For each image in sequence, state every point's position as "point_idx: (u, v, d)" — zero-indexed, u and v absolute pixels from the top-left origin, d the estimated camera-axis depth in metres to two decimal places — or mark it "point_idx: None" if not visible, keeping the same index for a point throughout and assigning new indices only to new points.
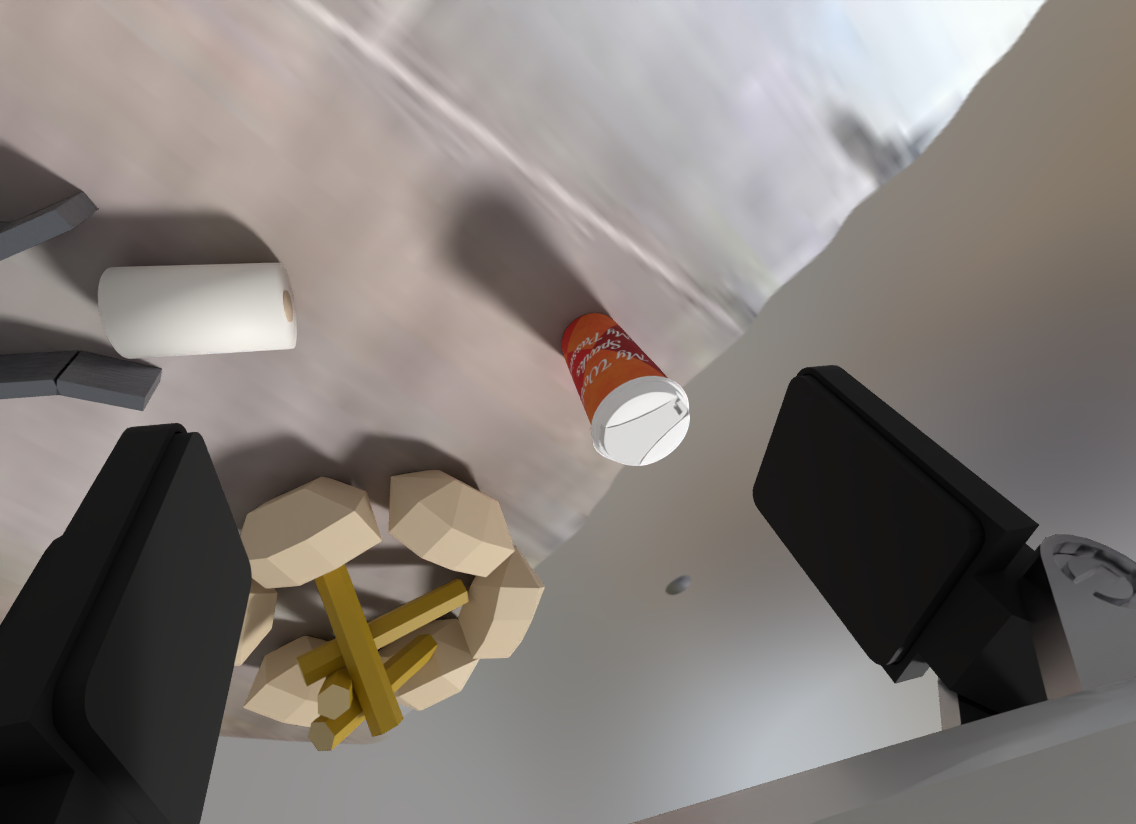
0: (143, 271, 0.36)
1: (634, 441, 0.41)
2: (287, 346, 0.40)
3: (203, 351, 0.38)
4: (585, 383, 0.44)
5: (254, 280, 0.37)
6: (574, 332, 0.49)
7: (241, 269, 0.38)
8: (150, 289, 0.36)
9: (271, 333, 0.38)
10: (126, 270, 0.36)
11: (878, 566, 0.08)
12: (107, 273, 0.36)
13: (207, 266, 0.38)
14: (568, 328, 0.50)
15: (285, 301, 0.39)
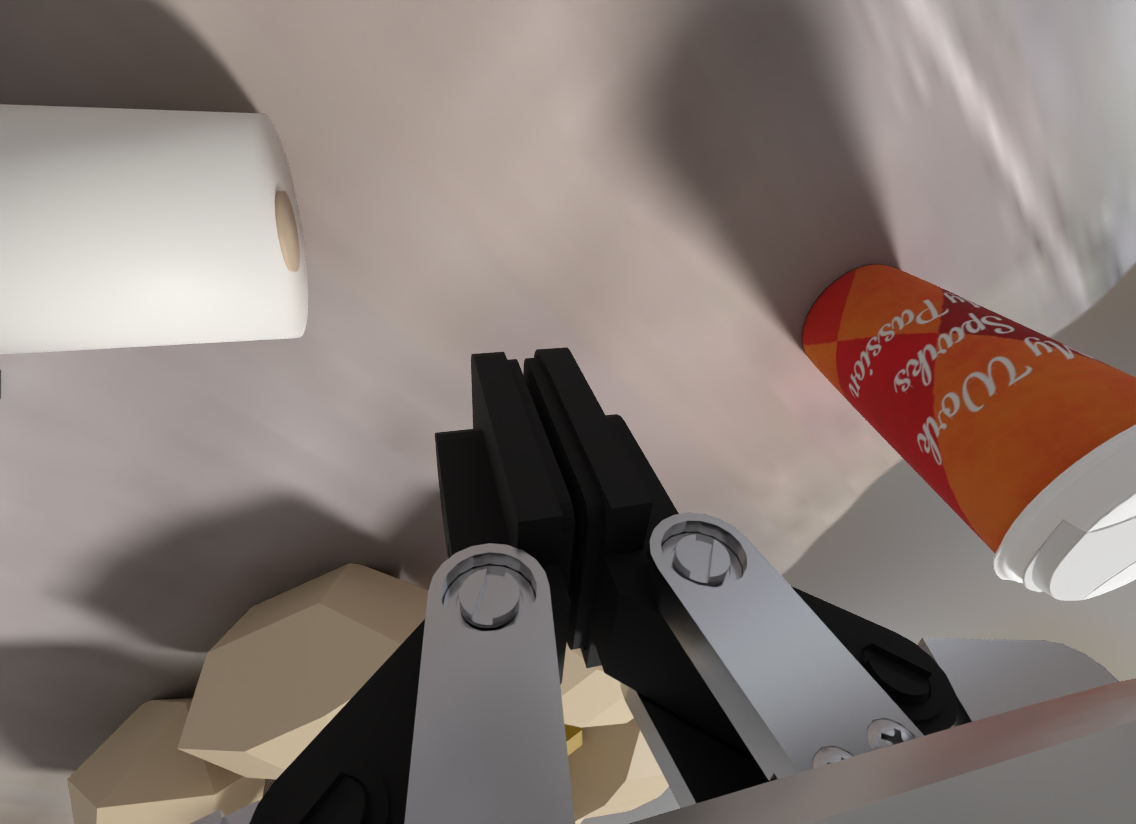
0: None
1: (1112, 556, 0.17)
2: (290, 335, 0.16)
3: (72, 347, 0.15)
4: (948, 409, 0.20)
5: (193, 157, 0.13)
6: (854, 299, 0.25)
7: (154, 125, 0.13)
8: None
9: (248, 308, 0.14)
10: None
11: None
12: None
13: (56, 110, 0.13)
14: (829, 293, 0.26)
15: (281, 220, 0.15)
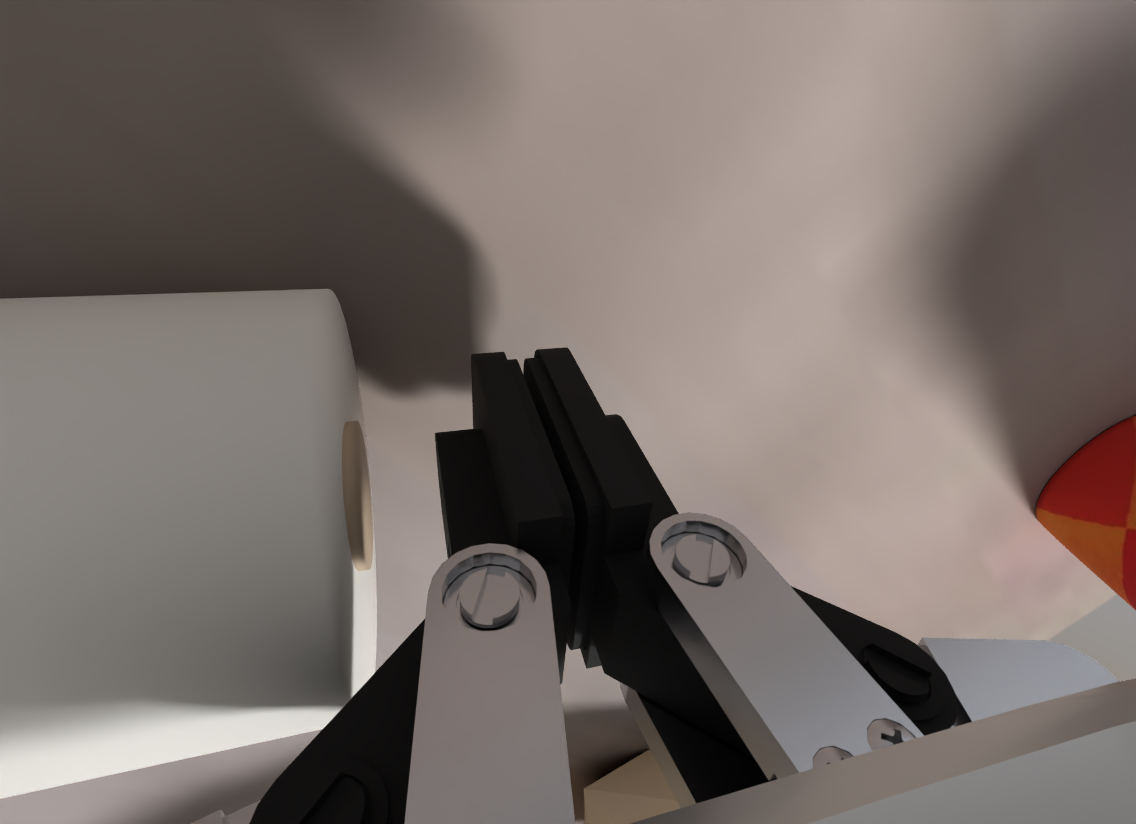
0: None
1: None
2: None
3: None
4: None
5: (171, 419, 0.05)
6: None
7: (89, 344, 0.06)
8: None
9: (282, 724, 0.06)
10: None
11: None
12: None
13: None
14: (1096, 452, 0.19)
15: (354, 494, 0.07)
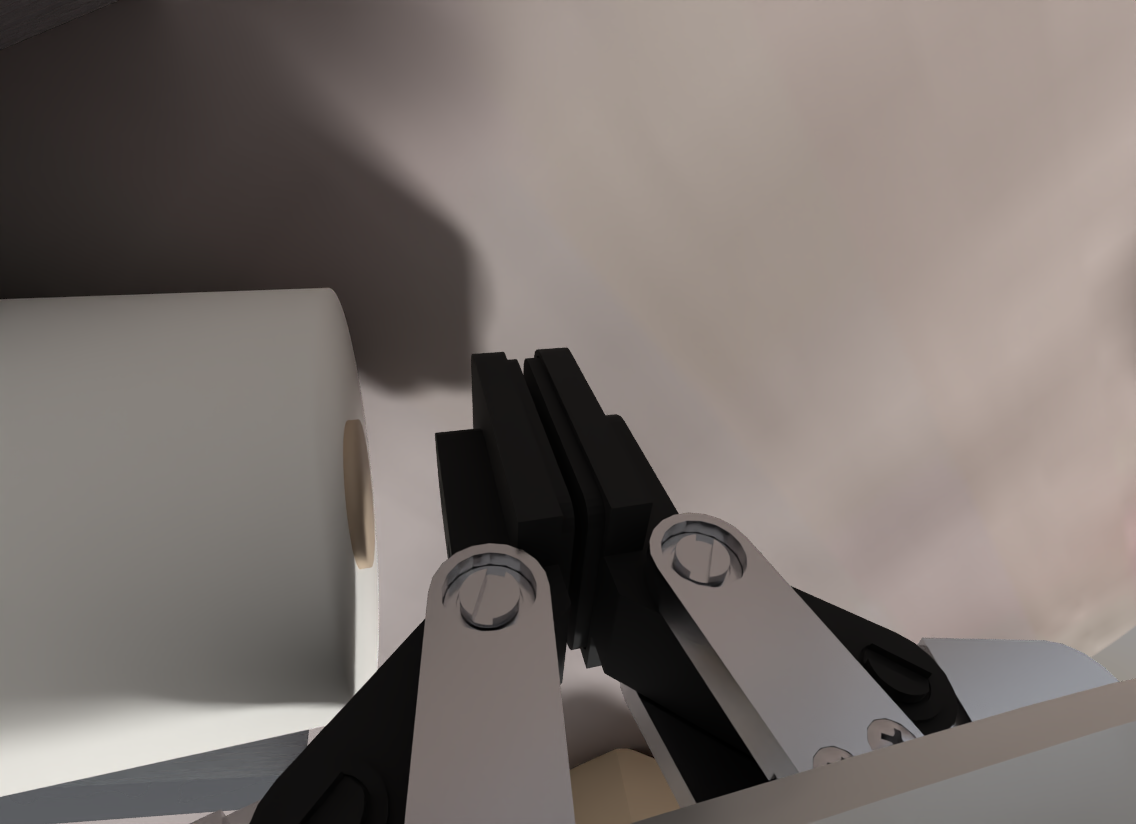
0: None
1: None
2: None
3: None
4: None
5: (174, 418, 0.05)
6: None
7: (92, 343, 0.06)
8: None
9: (285, 721, 0.06)
10: None
11: None
12: None
13: None
14: None
15: (356, 492, 0.08)
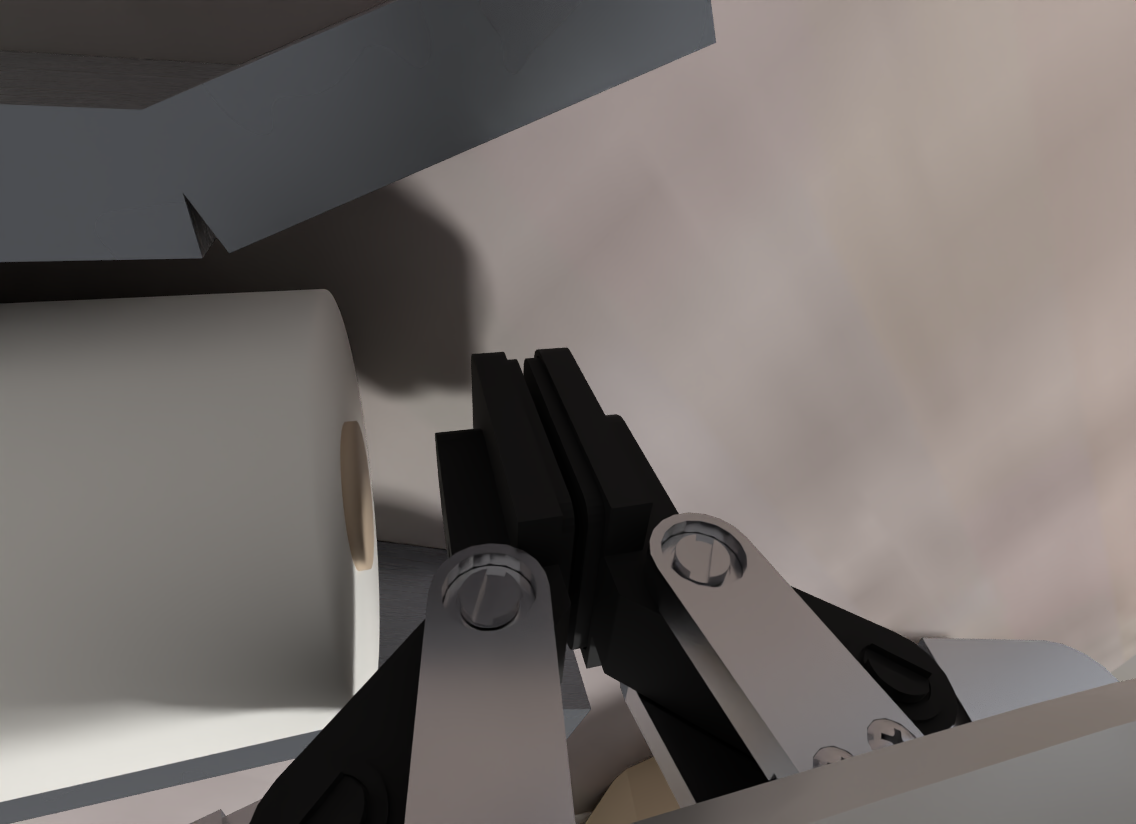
0: None
1: None
2: None
3: None
4: None
5: (168, 422, 0.05)
6: None
7: (85, 348, 0.06)
8: None
9: (283, 725, 0.06)
10: None
11: None
12: None
13: None
14: None
15: (353, 494, 0.07)
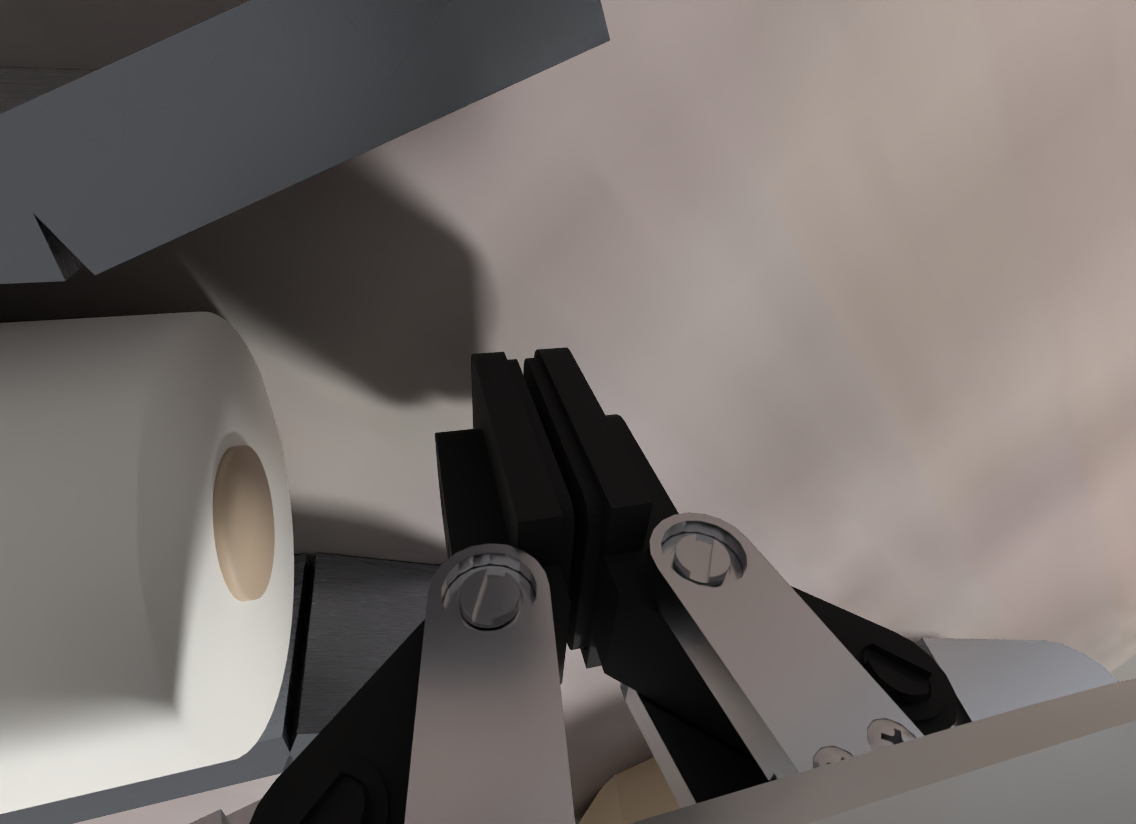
0: None
1: None
2: None
3: None
4: None
5: None
6: None
7: None
8: None
9: (131, 771, 0.06)
10: None
11: None
12: None
13: None
14: None
15: (227, 525, 0.07)
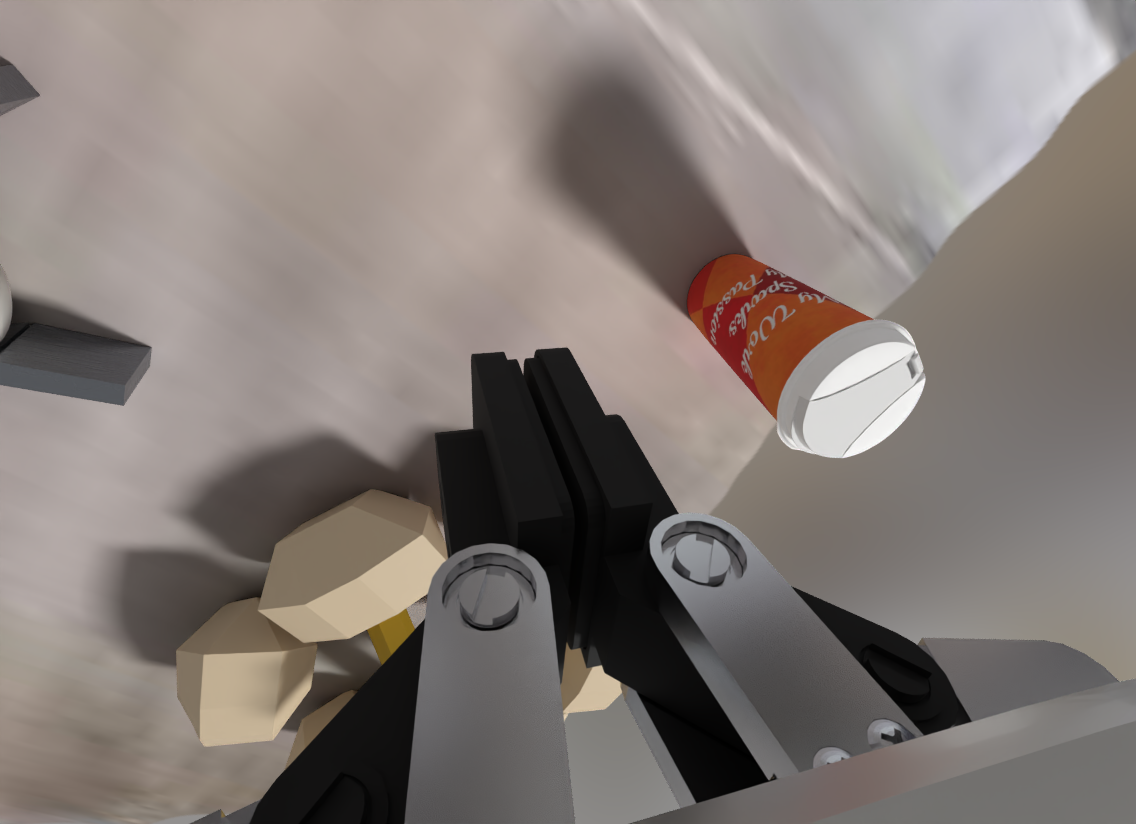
0: None
1: (843, 421, 0.28)
2: None
3: None
4: (753, 341, 0.30)
5: None
6: (711, 278, 0.35)
7: None
8: None
9: None
10: None
11: None
12: None
13: None
14: (699, 276, 0.37)
15: None
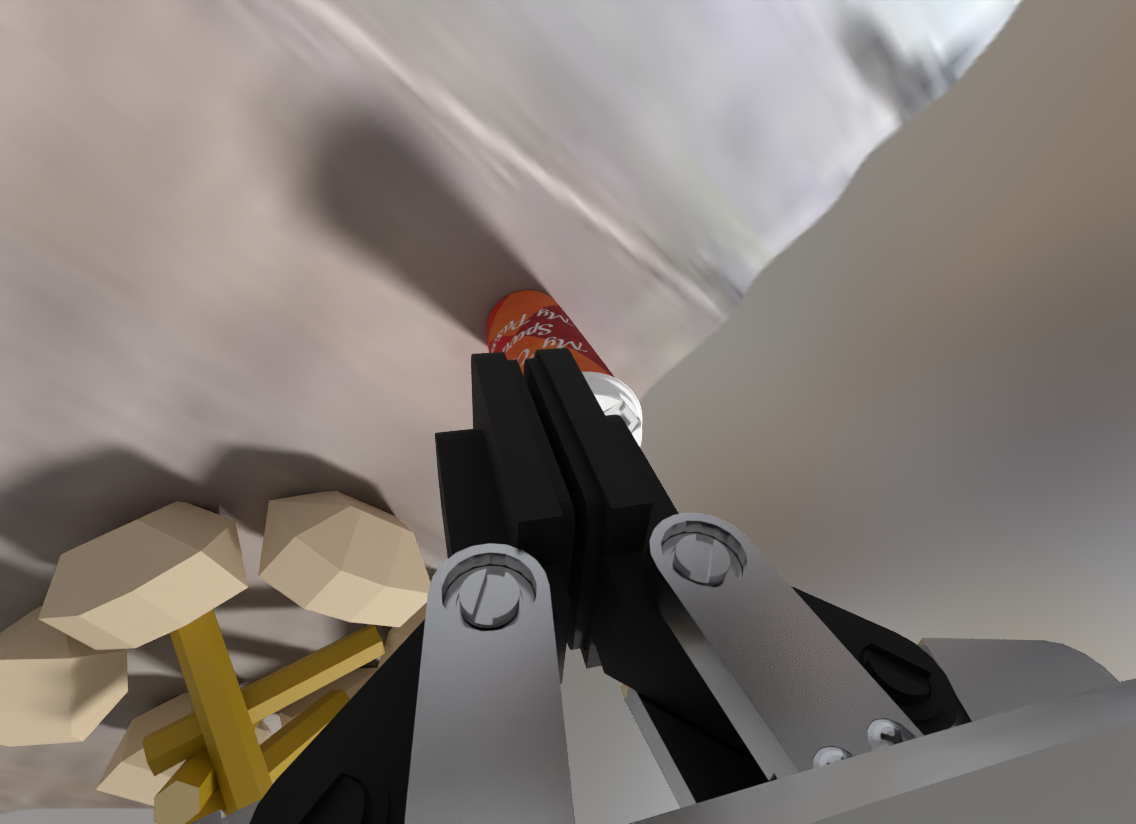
0: None
1: None
2: None
3: None
4: None
5: None
6: (498, 314, 0.37)
7: None
8: None
9: None
10: None
11: None
12: None
13: None
14: (492, 310, 0.38)
15: None
